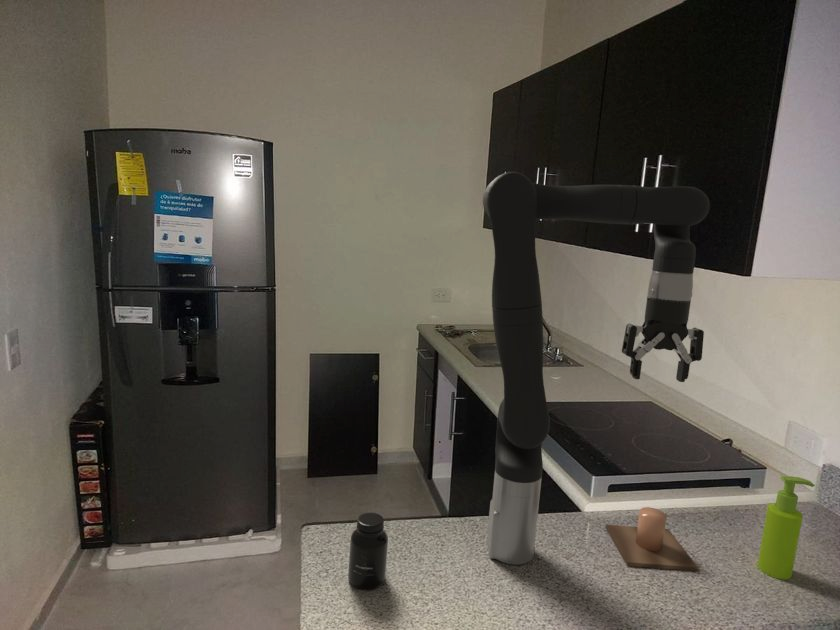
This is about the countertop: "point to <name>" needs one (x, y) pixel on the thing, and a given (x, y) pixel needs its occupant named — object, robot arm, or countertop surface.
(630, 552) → the mat
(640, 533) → the spice jar
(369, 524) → the supplement bottle
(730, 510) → the countertop surface
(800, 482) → the soap dispenser
